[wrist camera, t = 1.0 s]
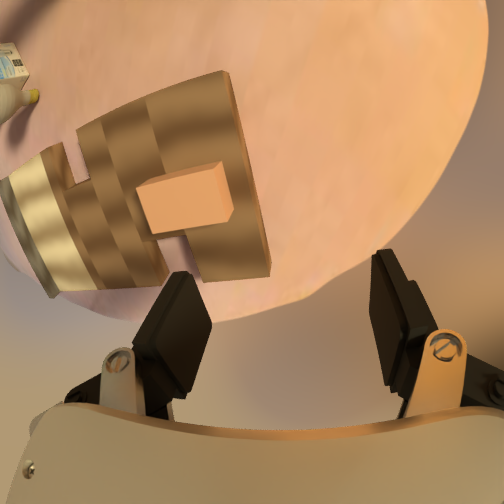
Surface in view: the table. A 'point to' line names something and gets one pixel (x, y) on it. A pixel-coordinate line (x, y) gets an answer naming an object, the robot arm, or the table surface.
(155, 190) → the block
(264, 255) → the platform
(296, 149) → the table surface
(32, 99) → the light bulb
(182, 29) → the table surface
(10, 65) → the light bulb box
